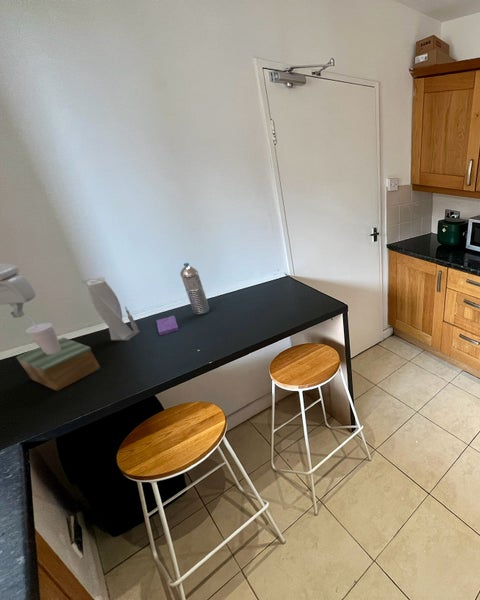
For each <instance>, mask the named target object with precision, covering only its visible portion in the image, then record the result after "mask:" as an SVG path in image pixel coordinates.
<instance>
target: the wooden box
mask: <svg viewBox="0 0 480 600" xmlns="http://www.w3.org/2000/svg"><path fill="white" fill-rule="evenodd" d="M17 361H18V362H19V363H20V365H21V366H22V369H24V371H25V372H26V373H27V375H28V377H29V378H30V380H32V381H34V382H36V383H39V384H40V385H42V386H44V387H48V388H50V389H51V390H54V391H56V392H59V391H60V390H62V389H63V388H65V387H68V386H69V385H71V384H73V383H75V382H77V381H79V380H81V379H83V378H85V377H87V376H88V375H90V374H93V373H94V372H97V371H99V370H100V369H101V368H102V367H101V366H100V364H99V361H98V360H97V359H96V357H95V355H94V353H93V351H92V348H91V349H90V350H88V351H86V352H84V353H81V354H79V355H77V356H75V357H73V358H71V359H69V360H66V361H64V362H62V363H60V364H58V365H56V366H54V367H51V368H49V369H47V370H45V371H44V370H41V369H39V368H37V367H35V366H32V365H30V364H28V363H26V362H23V361H21V360H19V359H17Z"/></svg>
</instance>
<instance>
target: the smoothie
mask: <svg viewBox="0 0 480 600" xmlns="http://www.w3.org/2000/svg"><path fill="white" fill-rule="evenodd" d="M28 319H29V320H30V322H31V324H32V326H29V327H28V328H27V329H25V334H26V335H27V336H29V337H30V338H31V339H32V340H33V342H35V344H36V345H37V346H38V348H39V347H40V348H41V349H42V350H43V351H44V352H45V353H46V354H47V355H51V354H55V353H57V352H59V351H61V347H60V344H59V342H58V339H59V338H58V337H57V333H56V331H55V329H54V328H55V325H54V324H53V323H52V322H43V323H39V324H36V322H35V321H34V319H33V317H32V316H28Z"/></svg>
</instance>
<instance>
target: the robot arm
mask: <svg viewBox="0 0 480 600" xmlns="http://www.w3.org/2000/svg"><path fill="white" fill-rule="evenodd" d="M20 271H21V270H20V268H19V267H18V266H17V265H15V264H9V263H3V262H0V306H4V305H10V307H11V308H13V311H11V312H10V314H11V316H12V318H14V319H15V318H22V317H23V316H25V312H24V310H23V307H24V304H25V303H28V302H30V301H32V300H33V299H35V297H36V294H37V293H36V291H35V289H34V287H33V286H32V284H31V283H30V281H28V279H27V278H26V277H25V276H24V275H22V274H19V273H20Z"/></svg>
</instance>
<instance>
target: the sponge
mask: <svg viewBox="0 0 480 600" xmlns="http://www.w3.org/2000/svg"><path fill="white" fill-rule="evenodd" d="M156 326H157V331H158V334H159V336H163V335H166V334H170V333H173V332H177V331H179V330H180V328H179V326H178V321H177V319H176V316H175V315H171V316H168V317H163V318H161V319H160V318H159V319H156Z"/></svg>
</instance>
